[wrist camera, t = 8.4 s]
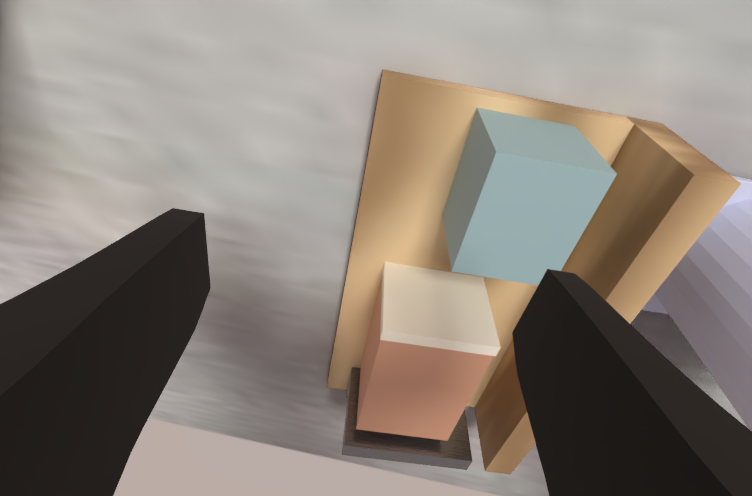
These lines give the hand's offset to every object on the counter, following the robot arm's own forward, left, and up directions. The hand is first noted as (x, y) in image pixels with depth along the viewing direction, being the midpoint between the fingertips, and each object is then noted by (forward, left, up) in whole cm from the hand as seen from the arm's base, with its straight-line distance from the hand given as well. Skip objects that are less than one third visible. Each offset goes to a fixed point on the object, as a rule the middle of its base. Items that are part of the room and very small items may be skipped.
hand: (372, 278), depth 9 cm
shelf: (-6, +9, -10) cm, 15 cm away
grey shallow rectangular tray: (-5, +17, -10) cm, 20 cm away
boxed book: (-4, +11, -10) cm, 15 cm away
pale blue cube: (-6, +2, -10) cm, 12 cm away
